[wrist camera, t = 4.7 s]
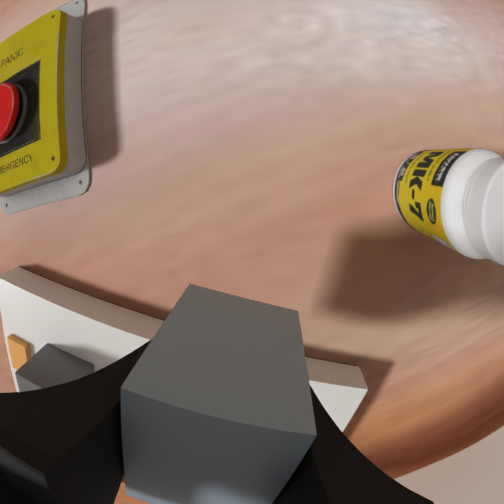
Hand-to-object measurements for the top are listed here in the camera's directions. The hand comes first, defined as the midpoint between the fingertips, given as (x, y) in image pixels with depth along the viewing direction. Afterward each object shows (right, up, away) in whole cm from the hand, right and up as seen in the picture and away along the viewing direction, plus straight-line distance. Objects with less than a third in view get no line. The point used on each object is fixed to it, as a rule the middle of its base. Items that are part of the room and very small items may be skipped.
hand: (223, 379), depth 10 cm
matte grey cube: (-12, -5, +8) cm, 15 cm away
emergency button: (-14, +15, +6) cm, 22 cm away
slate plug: (0, 0, +2) cm, 2 cm away
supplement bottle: (+11, +8, +6) cm, 15 cm away
